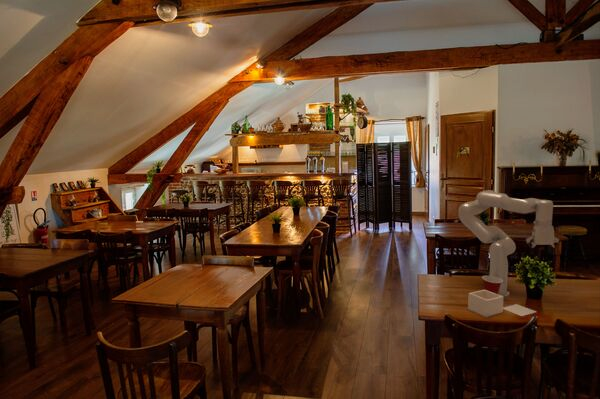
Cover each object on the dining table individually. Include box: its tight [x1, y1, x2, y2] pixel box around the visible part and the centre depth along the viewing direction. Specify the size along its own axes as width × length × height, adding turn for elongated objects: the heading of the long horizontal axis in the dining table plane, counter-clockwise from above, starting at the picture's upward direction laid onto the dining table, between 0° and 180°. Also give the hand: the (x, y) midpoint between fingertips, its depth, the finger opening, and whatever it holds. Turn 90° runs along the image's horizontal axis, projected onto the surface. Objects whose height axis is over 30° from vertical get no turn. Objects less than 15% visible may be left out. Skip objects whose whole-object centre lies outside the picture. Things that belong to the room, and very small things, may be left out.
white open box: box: [467, 289, 505, 318], centre depth 226 cm, size 12×12×9 cm
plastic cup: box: [481, 275, 503, 294], centre depth 244 cm, size 11×11×12 cm
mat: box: [503, 303, 537, 317], centre depth 227 cm, size 12×12×1 cm
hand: (541, 254), depth 231 cm, fingers open, 9 cm apart
